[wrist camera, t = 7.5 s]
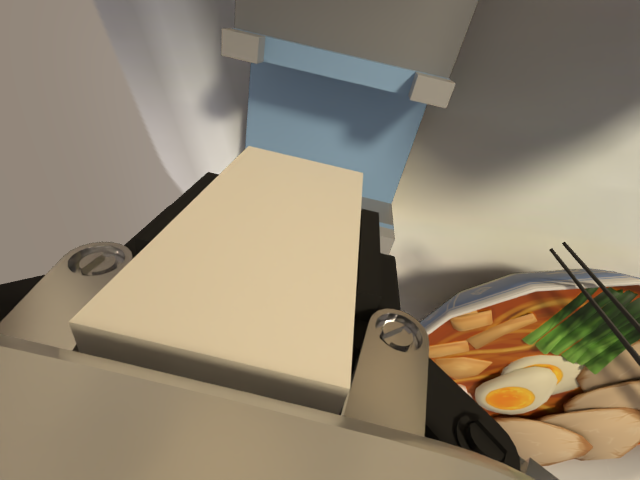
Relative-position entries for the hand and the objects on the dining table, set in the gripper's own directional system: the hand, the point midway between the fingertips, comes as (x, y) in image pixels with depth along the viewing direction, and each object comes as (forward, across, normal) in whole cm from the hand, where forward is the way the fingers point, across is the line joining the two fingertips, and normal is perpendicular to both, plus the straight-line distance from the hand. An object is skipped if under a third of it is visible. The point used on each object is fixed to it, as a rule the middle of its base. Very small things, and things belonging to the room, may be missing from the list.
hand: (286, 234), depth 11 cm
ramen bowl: (+12, -19, +12) cm, 26 cm away
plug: (+2, 0, 0) cm, 2 cm away
